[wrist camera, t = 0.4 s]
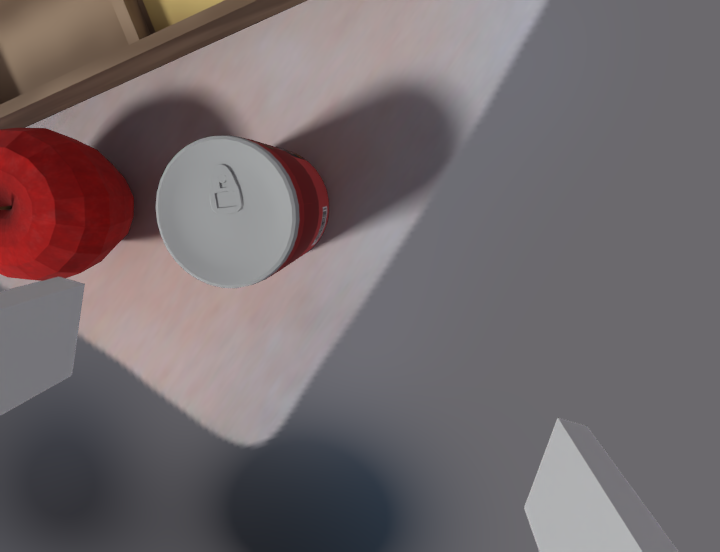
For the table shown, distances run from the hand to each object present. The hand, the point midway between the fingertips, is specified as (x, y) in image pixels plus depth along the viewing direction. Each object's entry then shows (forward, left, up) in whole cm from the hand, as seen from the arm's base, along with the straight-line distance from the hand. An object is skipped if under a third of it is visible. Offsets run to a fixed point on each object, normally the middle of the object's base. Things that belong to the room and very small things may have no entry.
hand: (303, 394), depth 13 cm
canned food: (-6, -5, -24) cm, 25 cm away
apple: (-11, -18, -24) cm, 32 cm away
